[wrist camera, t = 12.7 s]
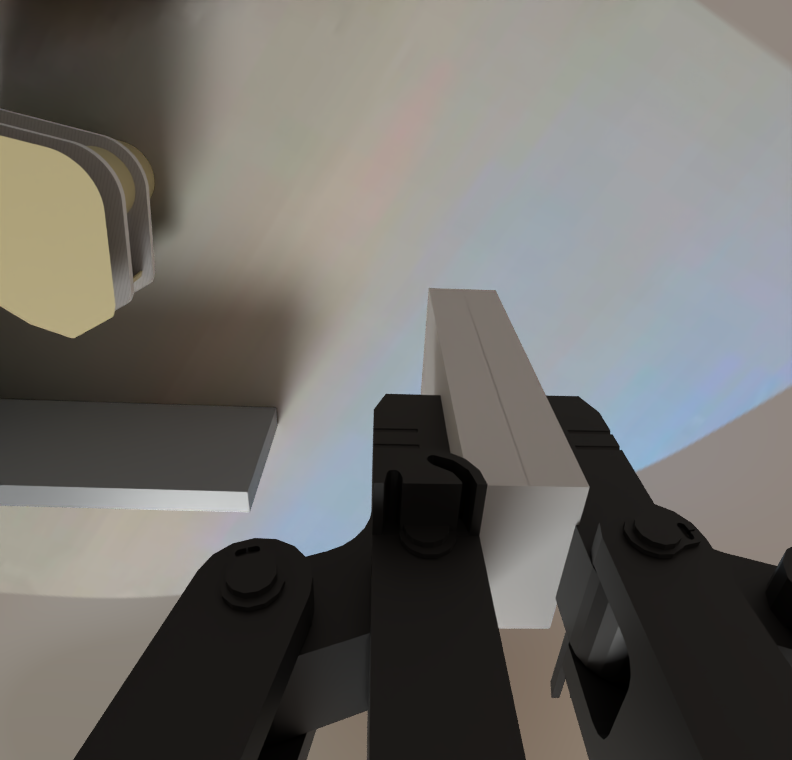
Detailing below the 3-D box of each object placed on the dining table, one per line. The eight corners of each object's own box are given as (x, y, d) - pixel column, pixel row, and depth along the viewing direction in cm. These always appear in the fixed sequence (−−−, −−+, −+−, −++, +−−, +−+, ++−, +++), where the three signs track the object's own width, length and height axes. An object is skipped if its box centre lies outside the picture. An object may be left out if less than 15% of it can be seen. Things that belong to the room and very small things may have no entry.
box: (-202, -65, 18) (-451, -121, 13) (244, -42, 18) (184, -86, 13) (-22, 416, 26) (-125, 502, 21) (277, 425, 27) (249, 512, 22)
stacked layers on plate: (-52, 251, 23) (-169, 298, 18) (-42, 10, 19) (-188, -10, 14) (191, 336, 25) (143, 400, 20) (245, 134, 21) (203, 154, 16)
